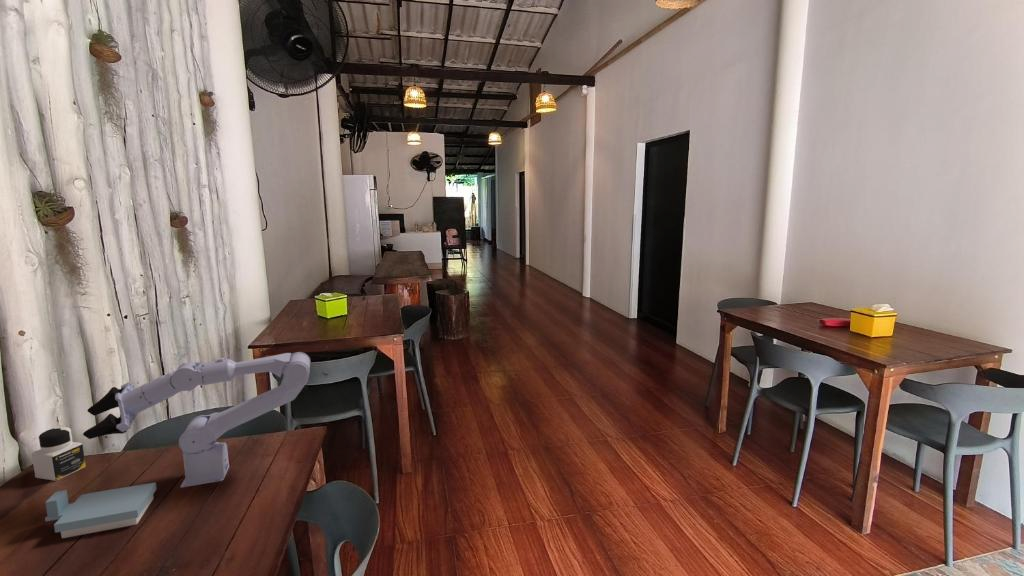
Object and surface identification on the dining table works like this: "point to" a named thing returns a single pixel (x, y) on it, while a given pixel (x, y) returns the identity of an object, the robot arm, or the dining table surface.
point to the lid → (98, 507)
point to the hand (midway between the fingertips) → (88, 424)
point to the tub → (105, 525)
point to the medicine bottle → (57, 455)
